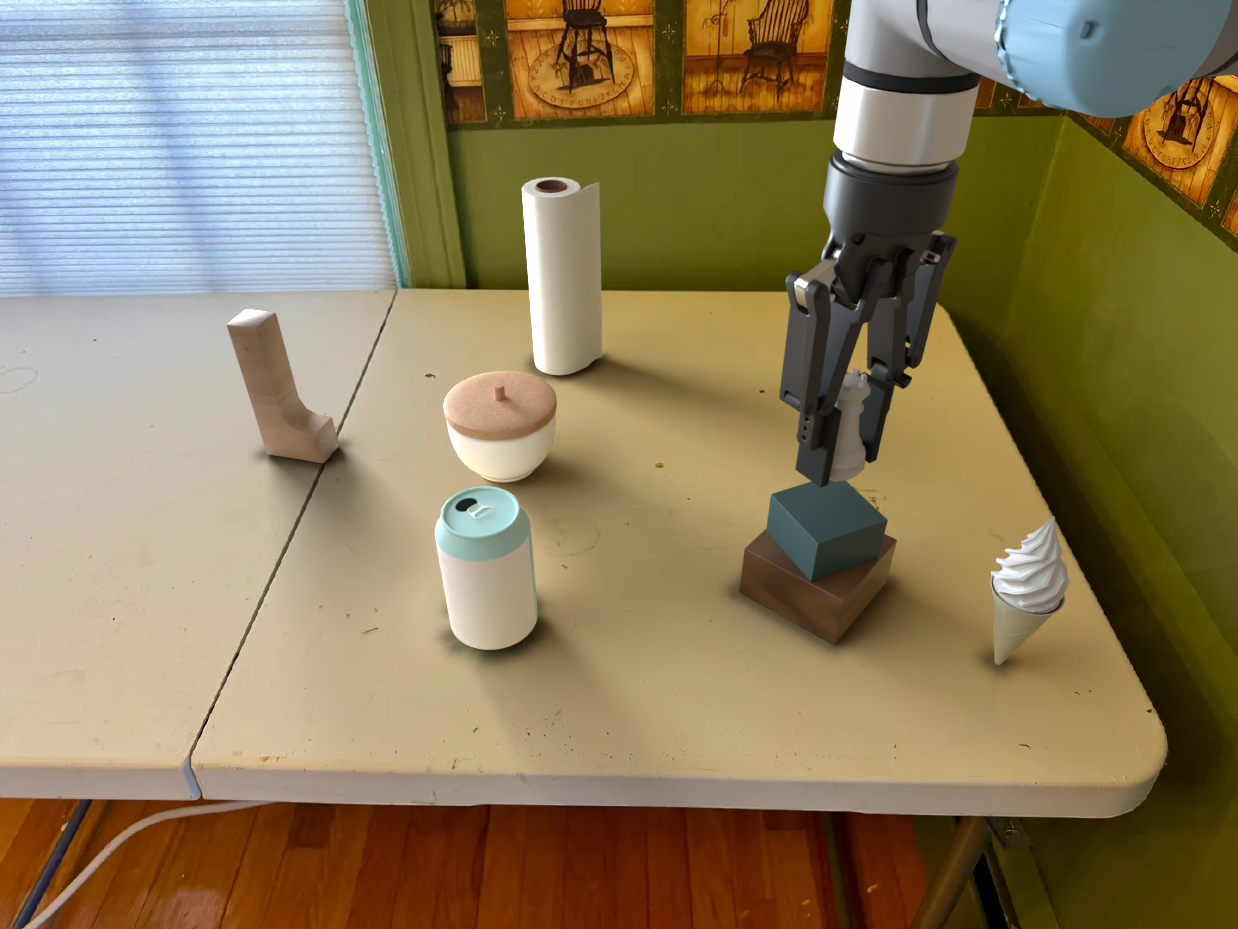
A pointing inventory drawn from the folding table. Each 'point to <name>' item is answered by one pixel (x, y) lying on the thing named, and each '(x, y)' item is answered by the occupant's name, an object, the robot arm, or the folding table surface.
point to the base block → (812, 587)
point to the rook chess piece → (850, 428)
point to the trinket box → (501, 423)
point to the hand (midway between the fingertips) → (836, 464)
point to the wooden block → (278, 391)
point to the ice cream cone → (1027, 589)
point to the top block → (825, 527)
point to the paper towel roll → (563, 273)
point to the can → (487, 567)
